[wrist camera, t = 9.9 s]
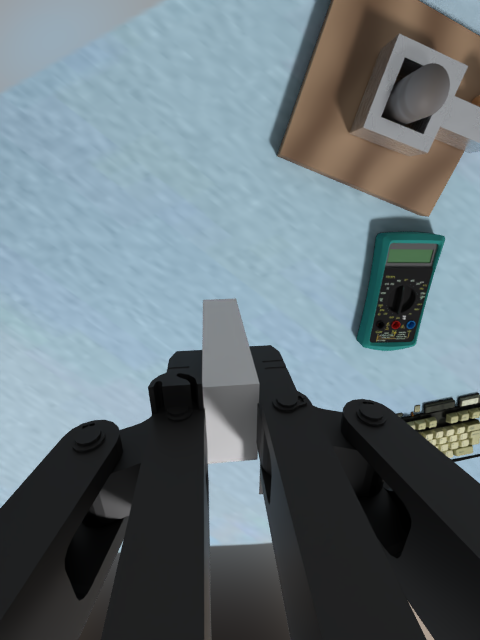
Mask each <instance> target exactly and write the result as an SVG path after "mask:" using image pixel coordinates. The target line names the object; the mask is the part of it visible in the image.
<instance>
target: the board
mask: <svg viewBox="0 0 480 640" xmlns="http://www.w3.org/2000/svg"><path fill="white" fill-rule="evenodd" d="M398 34H402V35H404V36H406V37H408V38H410V39H412V40H414V41H416V42H418V43H421V44H423V45H425V46H427V47H429V48H431V49H433V50H435V51H438V52H440V53H442V54H444V55H446V56H448V57H450V58H452V59H454V60H457V61H459V62H461V63H463V64H465V65H467V66H468V68H467V70H466V72H465V74H464V76H463V79H462V81H461V83H460V85H459V87H458V89H457V91H456V94H455V96H456V97H458V98H460V99H462V100H465V101H467V102H469V103H471V102H472V100H473V99H474V98H475V97H477V96H479V95H480V36H479V35H477V34H475V33H473V32H472V31H470V30H468V29H467V28H465V27H463V26H462V25H460V24H458V23H456V22H455V21H453V20H451V19H450V18H448V17H446V16H444V15H443V14H441V13H439V12H438V11H436V10H434V9H432V8H431V7H429V6H427V5H426V4H424V3H422V2H420V1H419V0H331V2H330V5H329V8H328V11H327V14H326V16H325V19H324V22H323V25H322V28H321V31H320V34H319V37H318V39H317V42H316V45H315V48H314V51H313V54H312V57H311V60H310V62H309V65H308V68H307V71H306V74H305V77H304V80H303V83H302V85H301V88H300V91H299V94H298V97H297V100H296V103H295V106H294V108H293V111H292V114H291V117H290V120H289V123H288V126H287V129H286V131H285V134H284V137H283V140H282V143H281V146H280V149H279V152H278V154H277V156H278V157H280V158H283V159H285V160H288V161H290V162H293V163H295V164H297V165H300V166H302V167H305V168H307V169H309V170H312V171H314V172H317V173H319V174H321V175H324V176H326V177H329V178H331V179H333V180H336V181H338V182H341V183H343V184H345V185H348V186H350V187H353V188H355V189H357V190H360V191H362V192H365V193H367V194H369V195H372V196H374V197H377V198H379V199H381V200H384V201H386V202H389V203H391V204H393V205H396V206H398V207H401V208H403V209H405V210H408V211H410V212H413V213H415V214H417V215H420V216H428V217H429V215H430V213H431V211H432V210H433V208H434V206H435V204H436V202H437V200H438V199H439V197H440V195H441V193H442V191H443V189H444V188H445V186H446V184H447V182H448V180H449V178H450V176H451V175H452V173H453V171H454V169H455V167H456V165H457V164H458V162H459V160H460V158H461V156H462V154H463V153H464V151H463V150H461V149H458V148H456V147H453V146H451V145H448V144H446V143H443V142H441V141H439V140H436V139H434V141H433V143H432V145H431V147H430V150H429V152H428V153H426V154H420V155H415V156H410V157H408V156H406V155H403V154H401V153H398V152H396V151H393V150H390V149H388V148H385V147H383V146H380V145H378V144H375V143H372V142H370V141H367V140H365V139H362V138H360V137H357V136H354V135H352V134H349V133H350V130H351V128H352V125H353V122H354V119H355V117H356V114H357V111H358V109H359V106H360V103H361V101H362V98H363V95H364V93H365V90H366V87H367V85H368V82H369V79H370V77H371V74H372V71H373V68H374V66H375V63H376V60H377V58H378V55H379V52H380V50H381V49H382V48H383V47H384V46H385V45H386V44H388V43H389V42H390V41H391V40H392V39H393V38H395V37H396V36H397V35H398ZM449 89H450V79H449V75H448V73H447V71H446V70H445V68H444V67H443V66H441V65H439V64H436V63H430V64H426V65H424V66H422V67H421V68H419V69H417V70H416V71H414V72H412V73H411V74H409V75H408V76H406V77H404V78H402V77H400V76H397V78H396V81H395V83H394V86H393V88H392V91H391V93H390V96H389V98H388V101H387V103H386V106H385V108H384V111H383V113H382V116H381V117H382V118H385V119H387V120H390V121H392V122H395V123H397V124H400V125H402V126H404V127H407V128H410V125H411V123H412V122H414V121H417V120H420V119H423V118H425V117H428V116H431V115H433V114H434V113H436V112H437V111H438V110H439V109H440V108H441V107H442V106H443V104H444V103H445V101H446V99H447V97H448V94H449Z"/></svg>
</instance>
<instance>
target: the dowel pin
mask: <svg viewBox="0 0 480 640" xmlns="http://www.w3.org/2000/svg"><path fill="white" fill-rule="evenodd" d="M471 104H474V105H476V106H478V107H480V95H479V96H477V97H475V98H474V99H473V100H472V102H471Z"/></svg>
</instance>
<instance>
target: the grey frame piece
mask: <svg viewBox="0 0 480 640" xmlns="http://www.w3.org/2000/svg"><path fill="white" fill-rule="evenodd" d="M430 63H436V64H439V65H441V66H443V67H444V68H445V70H446V71H447V73H448V75H449V79H450V89H449V94H448V97H447V99H446V101H445V103H444V104H443V106H442V107H441V108H440V109H439V110H438V111H437V112H436V113H434V114H433V115H431V116H428V117H425V118H423V119H420V120H417V121H414V122H412V123H411V125H410V128H407V127H404V126H402V125H400V124H397V123H395V122H392V121H390V120H387V119H385V118H382V117H381V116H382V113H383V111H384V108H385V106H386V103H387V101H388V98H389V96H390V93H391V91H392V88H393V86H394V83H395V81H396V78H397V76H400V77H402V78H404V77H406V76H408V75H409V74H411V73H412V72H414V71H416V70H417V69H419V68H421V67H422V66H424V65H426V64H430ZM467 68H468V66H467V65H465V64H463V63H461V62H459V61H457V60H454V59H452V58H450V57H448V56H446V55H444V54H442V53H440V52H438V51H435V50H433V49H431V48H429V47H427V46H425V45H423V44H421V43H418V42H416V41H414V40H412V39H410V38H408V37H406V36H404V35H402V34H398V35H397V36H396V37H395V38H393V39H392V40H391V41H390V42H389V43H388V44H386V45H385V46H384V47H383V48H382V49H381V50H380V52H379V55H378V58H377V60H376V63H375V66H374V68H373V71H372V74H371V77H370V79H369V82H368V85H367V87H366V90H365V93H364V95H363V98H362V101H361V103H360V106H359V109H358V111H357V114H356V117H355V119H354V122H353V125H352V128H351V130H350V133H349V134H352V135H354V136H357V137H360V138H362V139H365V140H367V141H370V142H372V143H375V144H378V145H380V146H383V147H385V148H388V149H390V150H393V151H396V152H398V153H401V154H403V155H406V156H408V157H410V156H415V155H420V154H426V153H428V152H429V150H430V147H431V145H432V143H433V141H434V139H436V140H439V141H441V142H443V143H446V144H448V145H451V146H453V147H456V148H458V149H461V150H463V151H465V152H468V153H472V152H478V151H480V107H478V106H476V105H474V104H471V103H469V102H467V101H465V100H462V99H460V98H458V97H456V96H455V94H456V91H457V89H458V87H459V85H460V83H461V81H462V79H463V76H464V74H465V72H466V70H467Z"/></svg>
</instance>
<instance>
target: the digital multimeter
mask: <svg viewBox="0 0 480 640" xmlns="http://www.w3.org/2000/svg"><path fill="white" fill-rule="evenodd" d="M444 242H445V237H444V236H442V235H437V234H432V233H423V232H386V233H379V234H378V235H377V236H376V241H375V248H374V255H373V262H372V269H371V275H370V281H369V286H368V292H367V297H366V302H365V306H364V310H363V315H362V319H361V323H360V327H359V331H358V335H357V341H358V342H359V343H360V344H361V345H362V346H363V347H365V348H370V349H374V350H382V351H391V350H399V349H404V348H408V347H412V346H414V345H415V344H416V342H417V337H418V332H419V328H420V323H421V319H422V315H423V311H424V308H425V304H426V300H427V296H428V293H429V289H430V286H431V282H432V279H433V275H434V272H435V269H436V266H437V263H438V260H439V257H440V254H441V251H442V248H443V245H444ZM384 269H385V270H384ZM383 273H384V274H383ZM382 278H383V279H382ZM381 283H382V284H381ZM379 292H380V293H379ZM378 297H379V298H378ZM377 302H378V303H377ZM375 311H376V312H375ZM374 316H375V317H374ZM371 330H372V331H371ZM370 335H371V336H370ZM384 342H391V343H384Z"/></svg>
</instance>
